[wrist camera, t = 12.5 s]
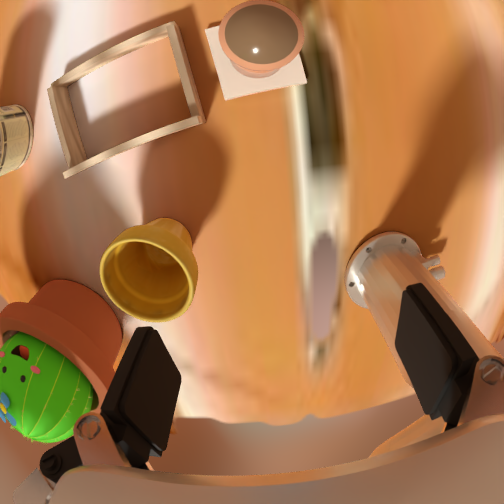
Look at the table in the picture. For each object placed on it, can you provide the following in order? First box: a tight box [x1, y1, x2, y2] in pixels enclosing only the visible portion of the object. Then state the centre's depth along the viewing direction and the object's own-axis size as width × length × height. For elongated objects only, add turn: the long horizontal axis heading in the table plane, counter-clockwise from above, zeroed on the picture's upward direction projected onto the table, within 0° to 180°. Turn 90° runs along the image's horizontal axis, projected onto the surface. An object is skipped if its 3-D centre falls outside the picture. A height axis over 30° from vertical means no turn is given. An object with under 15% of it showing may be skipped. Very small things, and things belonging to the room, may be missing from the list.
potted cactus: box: [0, 280, 122, 443], centre depth 30 cm, size 22×22×25 cm
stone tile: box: [205, 26, 307, 101], centre depth 24 cm, size 9×9×1 cm
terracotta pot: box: [218, 0, 304, 78], centre depth 20 cm, size 7×7×8 cm
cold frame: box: [47, 21, 206, 179], centre depth 24 cm, size 17×13×5 cm
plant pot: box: [100, 218, 198, 322], centre depth 31 cm, size 10×10×10 cm
